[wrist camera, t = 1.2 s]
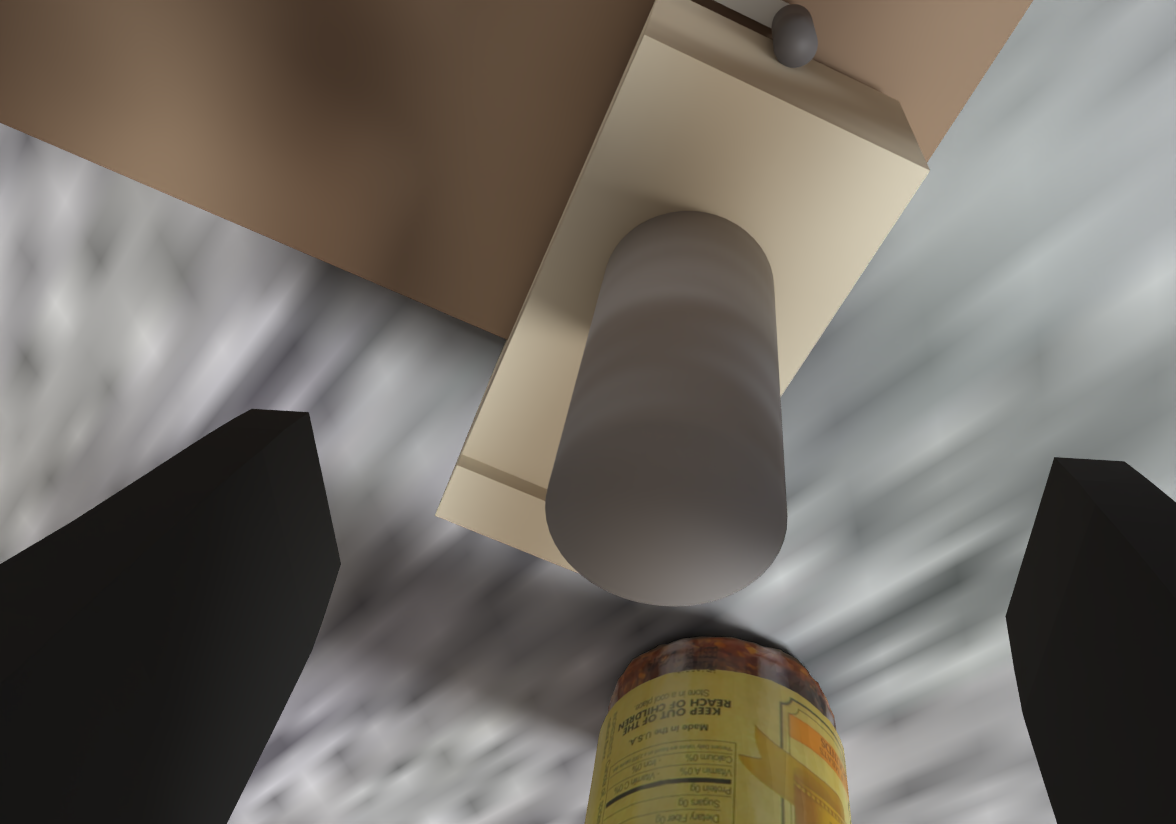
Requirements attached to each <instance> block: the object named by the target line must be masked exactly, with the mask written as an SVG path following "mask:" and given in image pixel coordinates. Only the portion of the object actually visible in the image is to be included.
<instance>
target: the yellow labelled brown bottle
mask: <svg viewBox="0 0 1176 824" xmlns="http://www.w3.org/2000/svg"><path fill="white" fill-rule="evenodd" d="M585 824H851V815H850V805H849V795H848V785H847V775H846V765H845V757H844V748H843V746H842V743H841V740H840V738H839V736H838V733H837V732H836V726H835V720H834V715H833V713H832V711H831V709H830V707H829V704H828V701H827V699H826V697H825V695H824V693H823V692H822V690H821V688H820V686H819V683H818V682H816V681H815V680H814V679H813V678H812V677H811V676H810V675H809V672H808V670H807V669H806V668H805V667H804V666H802V664H801V663H800V662H799V661H798V660H797V659H796V658H794V657H792V656H790V655H788V654H786V653H784V652H783V651H782V650H780V649H774V648H770V647H763V646H760V645H758V644H756V643H753V642H749V641H745V640H741V639H738V638H734V637H704V636H700V637H694V638H683V639H679V640H677V641H674V642H671V643H670V644H661V645H658V646H657V647H656V648H654V649H651V650H650V651H648V652H646V653H643V654H641V655H639V656H638V657H636V658H634V659H633V660H632V661H631V662H630V664H629V665H628V667H627V669H626V670H625V672H624V673H623V674H622V675H621V677H620V678H619V679H618V682H617V684H616V687H615V690H614V692H613V695H612V697H611V701H610V704H609V710H608V714H607V716H606V718H605V720H604V722H603V724H602V727H601V730H600V733H599V739H598V745H597V752H596V758H595V764H594V771H593V777H592V783H591V789H590V795H589V801H588V807H587V813H586V819H585Z"/></svg>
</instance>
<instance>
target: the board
mask: <svg viewBox="0 0 1176 824" xmlns="http://www.w3.org/2000/svg"><path fill="white" fill-rule="evenodd" d="M691 1H693V2H695V3H697V4H699V5H701V6H703V7H705V8H707V9H709V10H711V11H713V12H715V13H718V14H720V15H722V16H724V17H726V18H728V19H730V20H732V21H734V22H736V23H738V24H740V25H742V26H744V27H746V28H749V29H751V30H753V31H755V32H757V33H759V34H761V35H763V36H765V37H767V38H769V39H771V40H773V38H772V21H773V18H774V16H775V14H776V13H777V12H778V11H779V10H780V9H781V8H783V7H784V6H786V5H790V4H798V5H801V6H803V7H805V8H806V9H807V10H808V11H809V12H810V14H811V16H812V20H813V23H814V27H815V31H816V35H817V39H818V47H817V51H816V54H815V56H814V57H813V58H812V59H813V60H815V61H817V62H819V63H821V64H823V65H825V66H827V67H829V68H831V69H833V70H835V71H838V72H840V73H842V74H844V75H846V76H848V77H850V78H852V79H854V80H856V81H858V82H860V83H862V84H864V85H866V86H869V87H871V88H873V89H875V90H877V91H879V92H881V93H883V94H885V95H887V96H889V97H891V98H893V99H895V100H898V101H899V102H900V104H901V106H902V109H903V111H904V113H905V115H906V118H907V120H908V122H909V124H910V127H911V129H912V131H913V133H914V136H915V138H916V140H917V142H918V145H919V147H920V149H921V151H922V154H923V156H924V158H925V160H926V163H927V162H928V160H929V159H930V157H931V156H932V154H933V153H934V151H935V150H936V148H937V147H938V145H939V143H940V142H941V140H942V139H943V137H944V136H945V134H946V133H947V131H948V130H949V128H950V127H951V125H952V124H953V122H954V121H955V119H956V118H957V116H958V114H959V113H960V111H961V110H962V108H963V107H964V105H965V104H966V102H967V101H968V99H969V98H970V96H971V95H972V93H973V92H974V90H975V89H976V87H977V85H978V84H979V82H980V81H981V79H982V78H983V76H984V75H985V73H986V72H987V70H988V69H989V67H990V66H991V64H992V63H993V61H994V60H995V58H996V56H997V55H998V53H999V52H1000V50H1001V49H1002V47H1003V46H1004V44H1005V43H1006V41H1007V40H1008V38H1009V37H1010V35H1011V34H1012V32H1013V30H1014V29H1015V27H1016V26H1017V24H1018V23H1019V21H1020V20H1021V18H1022V17H1023V15H1024V14H1025V12H1026V11H1027V9H1028V8H1029V6H1030V5H1031V3H1032V1H1033V0H691ZM654 2H655V0H0V123H2V124H5V125H7V126H9V127H12V128H14V129H16V130H19V131H21V132H23V133H26V134H28V135H30V136H33V137H35V138H37V139H40V140H42V141H44V142H47V143H49V144H51V145H54V146H56V147H58V148H61V149H63V150H65V151H68V152H70V153H72V154H75V155H77V156H79V157H82V158H84V159H86V160H89V161H91V162H93V163H96V164H98V165H100V166H103V167H105V168H107V169H110V170H112V171H114V172H117V173H119V174H121V175H124V176H126V177H128V178H131V179H133V180H135V181H138V182H140V183H142V184H145V185H147V186H149V187H152V188H154V189H156V190H159V191H161V192H163V193H166V194H168V195H170V196H173V197H175V198H177V199H180V200H182V201H184V202H187V203H189V204H191V205H194V206H196V207H198V208H201V209H203V210H205V211H208V212H210V213H212V214H215V215H217V216H219V217H222V218H224V219H226V220H229V221H231V222H233V223H236V224H238V225H240V226H243V227H245V228H247V229H250V230H252V231H254V232H257V233H259V234H261V235H264V236H266V237H268V238H271V239H273V240H275V241H278V242H280V243H282V244H285V245H287V246H289V247H292V248H294V249H296V250H299V251H301V252H303V253H306V254H308V255H310V256H313V257H315V258H317V259H320V260H322V261H324V262H327V263H329V264H331V265H334V266H336V267H338V268H341V269H343V270H345V271H348V272H350V273H352V274H355V275H357V276H359V277H362V278H364V279H366V280H369V281H371V282H373V283H376V284H378V285H380V286H383V287H385V288H387V289H390V290H392V291H394V292H397V293H399V294H401V295H404V296H406V297H408V298H411V299H413V300H415V301H418V302H420V303H422V304H425V305H427V306H429V307H432V308H434V309H436V310H439V311H441V312H443V313H446V314H448V315H450V316H453V317H455V318H457V319H460V320H462V321H464V322H467V323H469V324H471V325H474V326H476V327H478V328H481V329H483V330H485V331H488V332H490V333H492V334H495V335H497V336H499V337H502V338H504V339H506V340H508V339H509V336H510V334H511V332H512V329H513V327H514V325H515V322H516V320H517V318H518V315H519V313H520V311H521V309H522V306H523V304H524V302H525V299H526V297H527V295H528V292H529V290H530V288H531V285H532V283H533V281H534V279H535V276H536V274H537V272H538V269H539V267H540V265H541V262H542V260H543V258H544V256H545V253H546V251H547V249H548V246H549V244H550V242H551V239H552V237H553V235H554V232H555V230H556V228H557V226H558V223H559V221H560V219H561V216H562V214H563V212H564V209H565V207H566V205H567V203H568V200H569V198H570V196H571V193H572V191H573V189H574V186H575V184H576V182H577V179H578V177H579V175H580V173H581V170H582V168H583V166H584V163H585V161H586V159H587V156H588V154H589V152H590V149H591V147H592V145H593V143H594V140H595V138H596V136H597V133H598V131H599V129H600V126H601V124H602V122H603V120H604V117H605V115H606V113H607V110H608V108H609V106H610V103H611V101H612V99H613V96H614V94H615V92H616V90H617V87H618V85H619V83H620V80H621V78H622V76H623V73H624V71H625V69H626V67H627V64H628V62H629V60H630V57H631V55H632V53H633V50H634V48H635V46H636V43H637V41H638V39H639V37H640V34H641V32H642V30H643V27H644V25H645V23H646V20H647V18H648V16H649V13H650V11H651V9H652V7H653V4H654Z"/></svg>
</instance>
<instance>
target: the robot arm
mask: <svg viewBox="0 0 1176 824" xmlns="http://www.w3.org/2000/svg"><path fill="white" fill-rule="evenodd" d="M340 565H341V562H340V558H339V553H338V548H337V544H336V539H335V534H334V529H333V525H332V520H331V515H330V510H329V506H328V501H327V496H326V492H325V487H324V482H323V477H322V473H321V468H320V463H319V458H318V454H317V449H316V444H315V439H314V435H313V430H312V425H311V421H310V416H309V412H295V411H279V410H262V409H251V410H249V411H247V412H245V413H243V414H241V415H240V416H238V417H236V418H234V419H232V420H231V421H229V422H227V423H226V424H224V425H222V426H221V427H219V428H217V429H216V430H214V431H213V432H211V433H209V434H208V435H206V436H205V437H203V438H201V439H200V440H198V441H197V442H195V443H194V444H192V445H190V446H189V447H187V448H186V449H184V450H183V451H181V452H180V453H178V454H176V455H175V456H173V457H172V458H170V459H169V460H167V461H166V462H164V463H163V464H161V465H160V466H158V467H156V468H155V469H153V470H152V471H150V472H149V473H147V474H146V475H144V476H143V477H141V478H139V479H138V480H136V481H135V482H133V483H132V484H130V485H128V486H127V487H125V488H124V489H122V490H121V491H119V492H118V493H116V494H114V495H113V496H111V497H110V498H108V499H107V500H105V501H103V502H102V503H100V504H99V505H97V506H96V507H94V508H93V509H91V510H89V511H88V512H86V513H85V514H83V515H82V516H80V517H79V518H77V519H75V520H74V521H72V522H71V523H69V524H67V525H66V526H64V527H62V528H61V529H59V530H57V531H55V532H54V533H52V534H50V535H49V536H47V537H45V538H44V539H42V540H40V541H39V542H37V543H35V544H34V545H32V546H30V547H28V548H27V549H25V550H23V551H22V552H20V553H18V554H17V555H15V556H13V557H12V558H10V559H8V560H7V561H5V562H3V563H1V564H0V824H227V822H228V820H229V818H230V816H231V814H232V812H233V810H234V808H235V806H236V804H237V802H238V800H239V798H240V796H241V794H242V792H243V790H244V788H245V786H246V784H247V782H248V780H249V778H250V776H251V774H252V772H253V770H254V768H255V766H256V764H257V762H258V760H259V758H260V756H261V754H262V752H263V750H264V748H265V746H266V744H267V742H268V740H269V738H270V736H271V734H272V732H273V730H274V728H275V726H276V724H277V722H278V720H279V718H280V716H281V714H282V711H283V709H284V707H285V705H286V703H287V701H288V699H289V697H290V695H291V693H292V691H293V689H294V687H295V685H296V683H297V681H298V679H299V677H300V675H301V672H302V670H303V668H304V666H305V664H306V662H307V660H308V658H309V655H310V653H311V651H312V649H313V646H314V643H315V640H316V637H317V635H318V632H319V629H320V626H321V623H322V620H323V618H324V615H325V612H326V609H327V606H328V603H329V599H330V596H331V593H332V590H333V587H334V584H335V581H336V577H337V574H338V571H339V568H340ZM1006 622H1007V628H1008V634H1009V640H1010V646H1011V652H1012V659H1013V665H1014V671H1015V676H1016V681H1017V686H1018V692H1019V697H1020V702H1021V707H1022V712H1023V716H1024V720H1025V723H1026V726H1027V729H1028V733H1029V736H1030V739H1031V743H1032V746H1033V749H1034V752H1035V755H1036V758H1037V762H1038V765H1039V768H1040V771H1041V774H1042V777H1043V781H1044V784H1045V787H1046V790H1047V793H1048V796H1049V799H1050V803H1051V806H1052V809H1053V812H1054V815H1055V818H1056V821H1057V824H1176V502H1175V501H1173V500H1172V499H1171V498H1170V497H1169V496H1167V495H1166V494H1165V493H1164V492H1163V491H1161V490H1160V489H1159V488H1158V487H1156V486H1155V485H1154V484H1153V483H1152V482H1150V481H1149V480H1148V479H1147V478H1145V477H1144V476H1143V475H1142V474H1140V473H1139V472H1138V471H1136V470H1135V469H1134V468H1132V467H1131V466H1130V465H1128V464H1127V463H1126V462H1124V461H1108V460H1091V459H1075V458H1058V457H1054V460H1053V464H1052V467H1051V470H1050V473H1049V477H1048V480H1047V483H1046V486H1045V490H1044V493H1043V496H1042V499H1041V503H1040V506H1039V509H1038V512H1037V516H1036V519H1035V522H1034V525H1033V529H1032V532H1031V535H1030V539H1029V542H1028V545H1027V548H1026V552H1025V555H1024V558H1023V561H1022V565H1021V568H1020V571H1019V574H1018V578H1017V581H1016V584H1015V587H1014V591H1013V594H1012V597H1011V600H1010V604H1009V607H1008V610H1007V613H1006Z"/></svg>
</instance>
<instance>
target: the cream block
mask: <svg viewBox="0 0 1176 824" xmlns="http://www.w3.org/2000/svg"><path fill="white" fill-rule="evenodd" d="M772 38H773V40H771V39H769V38H767V37H765V36H763V35H761V34H759V33H757V32H755V31H753V30H751V29H749V28H746V27H744V26H742V25H740V24H738V23H736V22H734V21H732V20H730V19H728V18H726V17H724V16H722V15H720V14H718V13H715V12H713V11H711V10H709V9H707V8H705V7H703V6H701V5H699V4H697V3H695V2H693V1H691V0H655V2H654V4H653V7H652V9H651V11H650V13H649V16H648V18H647V20H646V23H645V25H644V27H643V30H642V32H641V34H640V37H639V39H638V41H637V43H636V46H635V48H634V50H633V53H632V55H631V57H630V60H629V62H628V64H627V67H626V69H625V71H624V73H623V76H622V78H621V80H620V83H619V85H618V87H617V90H616V92H615V94H614V96H613V99H612V101H611V103H610V106H609V108H608V110H607V113H606V115H605V117H604V120H603V122H602V124H601V126H600V129H599V131H598V133H597V136H596V138H595V140H594V143H593V145H592V147H591V149H590V152H589V154H588V156H587V159H586V161H585V163H584V166H583V168H582V170H581V173H580V175H579V177H578V179H577V182H576V184H575V186H574V189H573V191H572V193H571V196H570V198H569V200H568V203H567V205H566V207H565V209H564V212H563V214H562V216H561V219H560V221H559V223H558V226H557V228H556V230H555V232H554V235H553V237H552V239H551V242H550V244H549V246H548V249H547V251H546V253H545V256H544V258H543V260H542V262H541V265H540V267H539V269H538V272H537V274H536V276H535V279H534V281H533V283H532V285H531V288H530V290H529V292H528V295H527V297H526V299H525V302H524V304H523V306H522V309H521V311H520V313H519V315H518V318H517V320H516V322H515V325H514V327H513V329H512V332H511V334H510V336H509V339H508V340H506V342H505V345H504V347H503V349H502V352H501V354H500V356H499V358H498V361H497V363H496V366H495V368H494V371H493V373H492V376H491V378H490V380H489V383H488V385H487V388H486V390H485V393H484V395H483V398H482V400H481V403H480V405H479V408H478V410H477V413H476V415H475V418H474V420H473V423H472V425H471V428H470V430H469V432H468V435H467V437H466V440H465V442H464V445H463V447H462V450H461V452H460V455H459V457H458V460H457V462H456V465H455V467H454V470H453V472H452V475H451V477H450V480H449V482H448V484H447V487H446V489H445V492H444V494H443V497H442V499H441V502H440V504H439V507H438V509H437V512H436V514H435V516H437V517H440V518H442V519H445V520H447V521H449V522H452V523H454V524H457V525H459V526H462V527H464V528H467V529H469V530H472V531H474V532H477V533H479V534H482V535H484V536H487V537H489V538H492V539H494V540H497V541H499V542H502V543H504V544H507V545H509V546H512V547H514V548H517V549H519V550H522V551H524V552H527V553H529V554H531V555H534V556H536V557H539V558H541V559H544V560H546V561H549V562H551V563H554V564H556V565H559V566H561V567H564V568H566V569H569V570H571V571H574V572H576V573H579V574H581V575H582V576H583V577H585V578H586V579H587V580H589V581H590V582H591V583H593V584H595V585H596V586H598V587H600V588H602V589H603V590H605V591H608V592H610V593H612V594H614V595H616V596H619V597H622V598H625V599H628V600H631V601H635V602H640V603H644V604H650V605H657V606H690V605H697V604H704V603H708V602H712V601H716V600H719V599H722V598H724V597H727V596H730V595H732V594H734V593H736V592H738V591H740V590H742V589H744V588H745V587H747V586H748V585H750V584H751V583H753V582H754V581H755V580H756V579H758V578H759V577H760V576H761V575H762V574H763V573H764V572H765V571H766V570H767V569H768V568H769V566H770V565H771V564H772V563H773V561H774V560H775V558H776V557H777V555H778V553H779V551H780V549H781V547H782V544H783V542H784V538H785V534H786V530H787V502H786V485H785V467H784V450H783V432H782V415H781V395H782V394H783V392H784V391H785V389H786V388H787V386H788V385H789V383H790V382H791V380H792V379H793V377H794V376H795V374H796V373H797V371H798V370H799V368H800V367H801V365H802V364H803V362H804V361H805V359H806V358H807V356H808V355H809V353H810V352H811V350H812V349H813V347H814V346H815V344H816V342H817V341H818V339H819V338H820V336H821V335H822V333H823V332H824V330H825V329H826V327H827V326H828V324H829V323H830V321H831V320H832V318H833V317H834V315H835V314H836V312H837V311H838V309H839V308H840V306H841V305H842V303H843V302H844V300H845V299H846V297H847V296H848V294H849V293H850V291H851V289H852V288H853V286H854V285H855V283H856V282H857V280H858V279H859V277H860V276H861V274H862V273H863V271H864V270H865V268H866V267H867V265H868V264H869V262H870V261H871V259H872V258H873V256H874V255H875V253H876V252H877V250H878V249H879V247H880V246H881V244H882V243H883V241H884V239H885V238H886V236H887V235H888V233H889V232H890V230H891V229H892V227H893V226H894V224H895V223H896V221H897V220H898V218H899V217H900V215H901V214H902V212H903V211H904V209H905V208H906V206H907V205H908V203H909V202H910V200H911V199H912V197H913V196H914V194H915V193H916V191H917V190H918V188H919V186H920V185H921V183H922V182H923V180H924V179H925V177H926V176H927V174H928V173H929V171H930V169H929V167H928V165H927V163H926V160H925V158H924V156H923V154H922V151H921V149H920V147H919V145H918V142H917V140H916V138H915V136H914V133H913V131H912V129H911V127H910V124H909V122H908V120H907V118H906V115H905V113H904V111H903V109H902V106H901V104H900V102H899V101H898V100H895V99H893V98H891V97H889V96H887V95H885V94H883V93H881V92H879V91H877V90H875V89H873V88H871V87H869V86H866V85H864V84H862V83H860V82H858V81H856V80H854V79H852V78H850V77H848V76H846V75H844V74H842V73H840V72H838V71H835V70H833V69H831V68H829V67H827V66H825V65H823V64H821V63H819V62H817V61H815V60H813V59H812V58H813V57H814V56H815V54H816V51H817V47H818V39H817V35H816V31H815V27H814V23H813V20H812V16H811V14H810V12H809V11H808V10H807V9H806V8H805V7H803V6H801V5H798V4H790V5H786V6H784V7H783V8H781V9H780V10H779V11H778V12H777V13H776V14H775V16H774V18H773V21H772Z"/></svg>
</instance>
